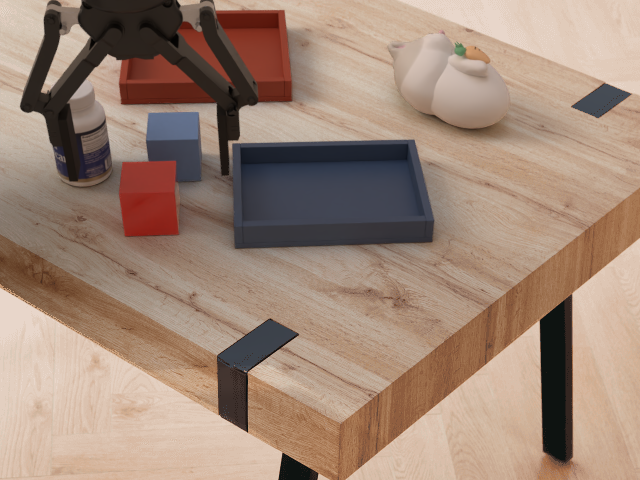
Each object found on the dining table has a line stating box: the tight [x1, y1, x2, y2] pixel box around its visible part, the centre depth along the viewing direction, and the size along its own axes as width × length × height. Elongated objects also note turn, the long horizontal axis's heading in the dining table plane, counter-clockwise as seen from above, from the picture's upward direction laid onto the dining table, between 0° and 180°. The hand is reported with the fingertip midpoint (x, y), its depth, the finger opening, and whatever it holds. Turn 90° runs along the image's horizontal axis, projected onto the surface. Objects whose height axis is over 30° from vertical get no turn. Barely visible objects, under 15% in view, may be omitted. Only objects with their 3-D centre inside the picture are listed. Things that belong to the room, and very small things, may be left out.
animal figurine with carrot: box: [386, 29, 511, 130], centre depth 116 cm, size 10×8×15 cm
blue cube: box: [145, 111, 203, 183], centre depth 107 cm, size 5×5×5 cm
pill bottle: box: [49, 78, 113, 188], centre depth 104 cm, size 5×5×10 cm
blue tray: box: [231, 138, 435, 249], centre depth 105 cm, size 19×14×3 cm
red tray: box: [118, 9, 293, 105], centre depth 124 cm, size 19×17×3 cm
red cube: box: [118, 160, 181, 237], centre depth 101 cm, size 5×5×5 cm
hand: (150, 170), depth 99 cm, fingers open, 13 cm apart
